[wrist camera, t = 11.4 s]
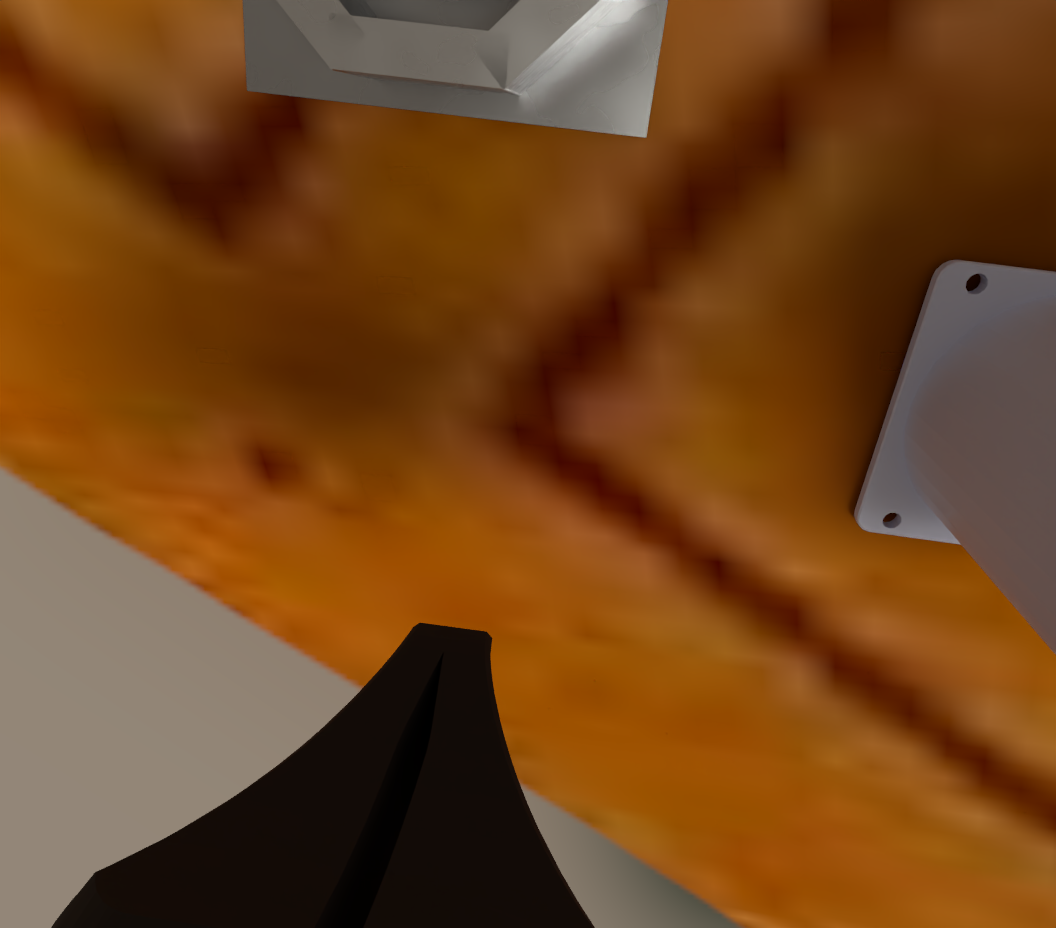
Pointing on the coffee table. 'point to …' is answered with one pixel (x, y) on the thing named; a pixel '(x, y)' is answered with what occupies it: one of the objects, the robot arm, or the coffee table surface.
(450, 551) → the coffee table surface
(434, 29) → the mount
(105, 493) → the coffee table surface
